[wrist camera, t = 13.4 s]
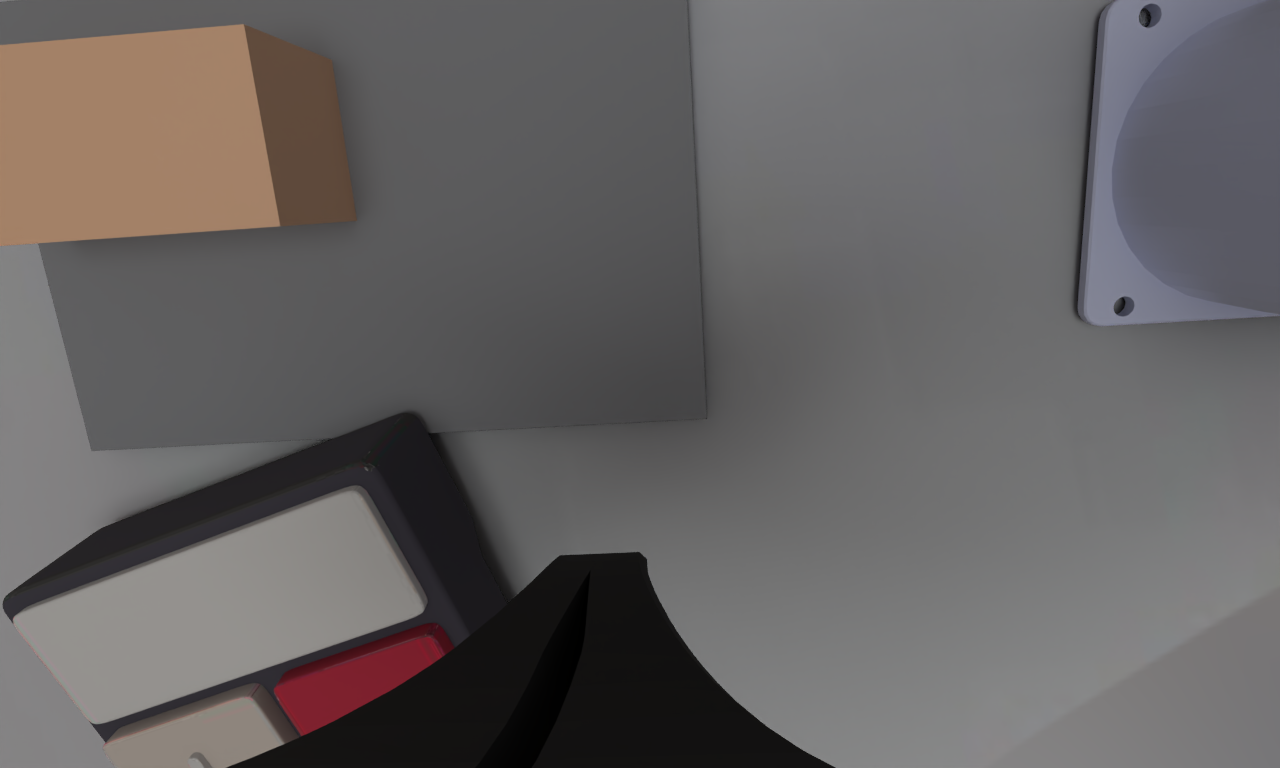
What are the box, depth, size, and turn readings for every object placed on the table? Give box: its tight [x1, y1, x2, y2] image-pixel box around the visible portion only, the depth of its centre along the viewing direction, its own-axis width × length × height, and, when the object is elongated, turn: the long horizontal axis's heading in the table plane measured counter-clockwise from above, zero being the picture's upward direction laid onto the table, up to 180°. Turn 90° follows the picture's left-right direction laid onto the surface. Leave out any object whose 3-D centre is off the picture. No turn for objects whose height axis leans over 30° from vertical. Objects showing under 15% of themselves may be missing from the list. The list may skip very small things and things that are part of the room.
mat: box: [0, 0, 707, 451], centre depth 20 cm, size 18×12×1 cm, turn 94°
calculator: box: [3, 413, 507, 768], centre depth 22 cm, size 11×4×15 cm
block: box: [0, 24, 357, 246], centre depth 18 cm, size 4×4×8 cm
